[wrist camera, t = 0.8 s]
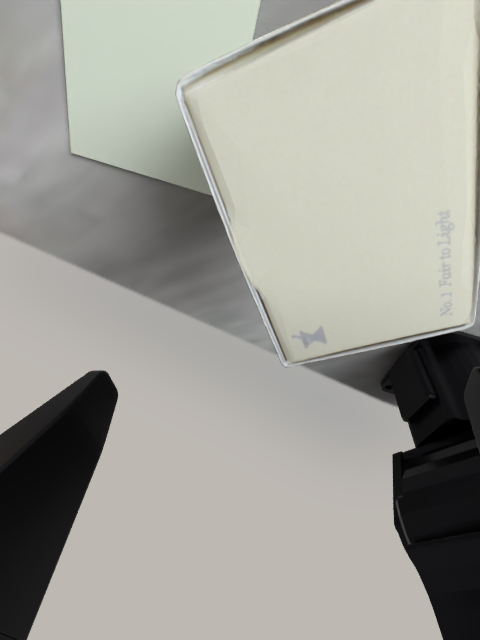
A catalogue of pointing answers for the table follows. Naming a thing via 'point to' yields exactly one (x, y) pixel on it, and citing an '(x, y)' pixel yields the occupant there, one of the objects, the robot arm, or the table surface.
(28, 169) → the table surface
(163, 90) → the mat
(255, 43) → the skincare box
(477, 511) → the robot arm
